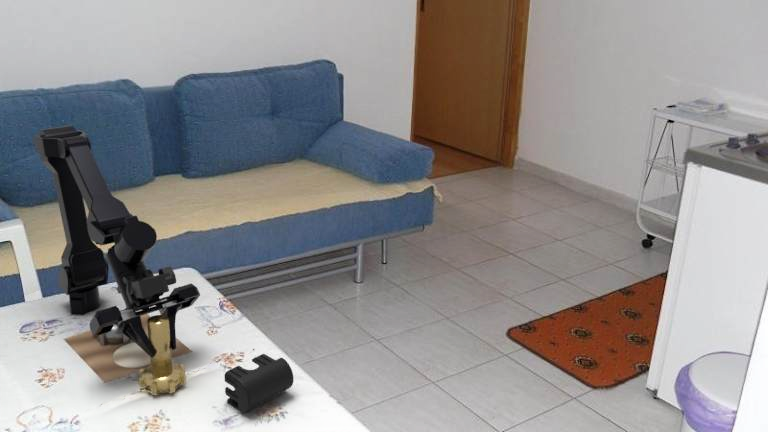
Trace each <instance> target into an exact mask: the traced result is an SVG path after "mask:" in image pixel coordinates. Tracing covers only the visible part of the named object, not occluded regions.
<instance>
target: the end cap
mask: <svg viewBox="0 0 768 432" xmlns="http://www.w3.org/2000/svg"><path fill="white" fill-rule="evenodd" d="M251 362H253V363H254V364H255V365H257V366H258V367H256V368H255V369H254V368H253V369H246V368H243V367H242V366H240V365H237V366H235V367H233V368H230V369H229V370H227V371H225V373H224V382H225V383H226V384H228V385H230V386H232V387H233V388H234V390H233V389H231V388H230V387H228V386H226V387H225V388H224V393H225V395H226V396H227V397H228V398H227V400H226V401H227V402H226V403H227V404H228V405H229V406H230V407H232V408H234V409H235V410H237V411H238V412H240V413H247V412H248V411H250V410H253V408H256V407H258V406H259V405H262V404H263V403H265V402H268V401H269V400H271V399H272V398H274V397H277V396H278V395H280V394H282V393H284V392H286V391H287V390H289V389H291V387H292V386H293V385H294V379H295V378H294V373H293V369H292V367H291V366H290V363H289V362H287V360H285V359H284V358H283V357H279V358H277V359H274V358H272V357H270V356H268V355H267V354H265V353H263V354H262V353H261V354H259V355H257V356H255V357H254V358H252V359H251Z"/></svg>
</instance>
